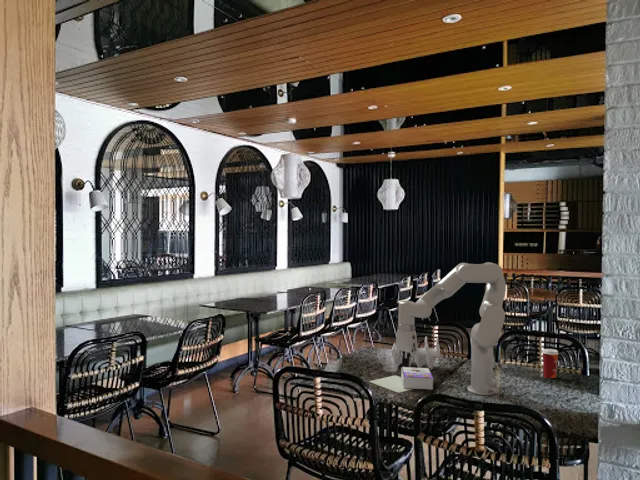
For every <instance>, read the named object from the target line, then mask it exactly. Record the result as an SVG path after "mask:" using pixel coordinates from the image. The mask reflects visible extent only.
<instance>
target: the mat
mask: <svg viewBox="0 0 640 480" xmlns="http://www.w3.org/2000/svg"><path fill="white" fill-rule="evenodd" d="M368 383H371V384H374V385H376V386H378V387H382V388H383V389H387V390H389V391H392V392H395V393H397V394H401V393H405V392H408V391H412V390H413V389H408V388H403V383H402V379H401V376H398V375H391V376H385V377H381V378H377V379H375V380H374V379H373V380H369V381H368Z"/></svg>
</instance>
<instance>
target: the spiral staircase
mask: <svg viewBox="0 0 640 480" xmlns="http://www.w3.org/2000/svg"><path fill="white" fill-rule="evenodd" d="M440 355H441V347H440V344H439V336H438V337H436V339H435V348H429V344H428V336H425V337H424V347H418V346H417V351H416V352H415V355H413V356H411V357H410V358H409V366H408V367H411V365H412V363H413V358H414V362H415V365H416V366H417V367H416V368H424V367H423V366H424V362H425V361H426V364H427V367H428V368H429V369H430V371H433V368H435V362H436V361H437V358H438V357H439V358H440ZM391 357H392V360H393V363H394V365H397V366H400V364H402V357H401V354H400V352H398V351H397V348H396V342H394V343H393V344H392V348H391Z"/></svg>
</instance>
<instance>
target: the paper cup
mask: <svg viewBox="0 0 640 480" xmlns="http://www.w3.org/2000/svg"><path fill="white" fill-rule="evenodd" d="M541 353H542V362H543V363H542V366H543V377H544V378H545V379H548V378H556V379H557V370H558V361H559V360H558V359H559V350H557V349H554V348H543V349H542V351H541Z"/></svg>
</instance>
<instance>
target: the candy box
mask: <svg viewBox="0 0 640 480" xmlns="http://www.w3.org/2000/svg"><path fill="white" fill-rule="evenodd" d="M400 368H401V369H400V375H401V376H400V377H401V379H402V383H403V388H408V389H412V390H430V391H431V390H434V376H433V374H432V372H431V369H430V368H429V367H421V368H420V367H412V366H410V367H409V366H401V367H400Z"/></svg>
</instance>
